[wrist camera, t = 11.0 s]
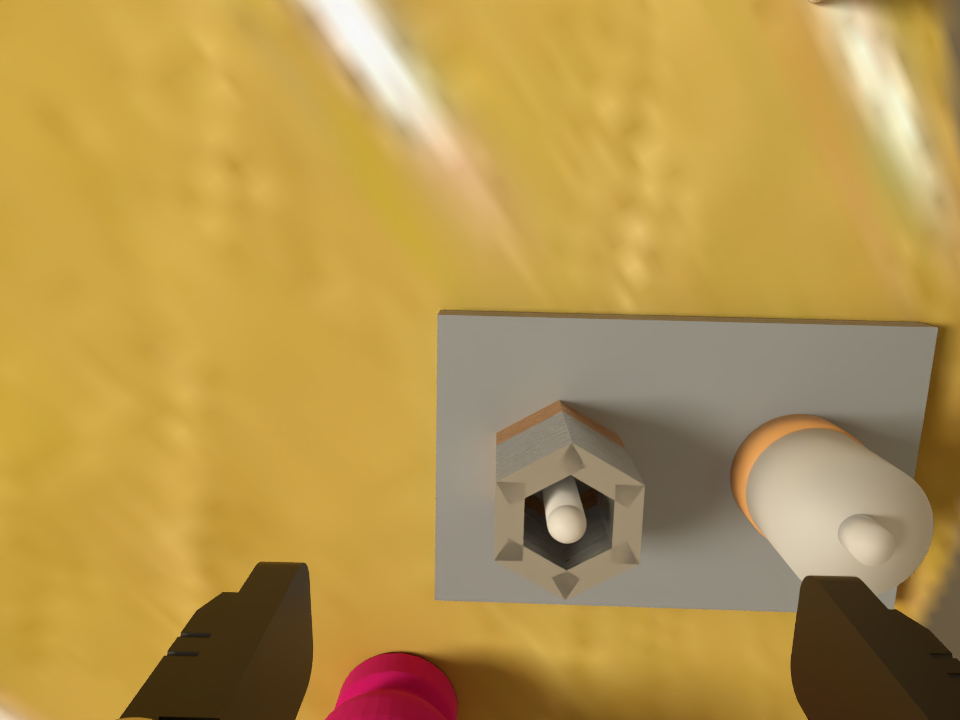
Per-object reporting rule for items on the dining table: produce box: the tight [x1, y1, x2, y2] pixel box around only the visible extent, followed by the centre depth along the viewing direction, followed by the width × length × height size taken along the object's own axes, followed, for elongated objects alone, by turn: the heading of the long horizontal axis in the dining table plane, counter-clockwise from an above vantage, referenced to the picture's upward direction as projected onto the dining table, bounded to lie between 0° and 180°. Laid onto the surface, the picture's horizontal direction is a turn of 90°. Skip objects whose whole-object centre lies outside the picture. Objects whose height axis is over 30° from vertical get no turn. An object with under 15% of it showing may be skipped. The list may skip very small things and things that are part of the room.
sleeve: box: [494, 400, 645, 600], centre depth 30 cm, size 6×6×6 cm
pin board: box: [435, 310, 938, 612], centre depth 30 cm, size 14×22×9 cm, turn 89°
